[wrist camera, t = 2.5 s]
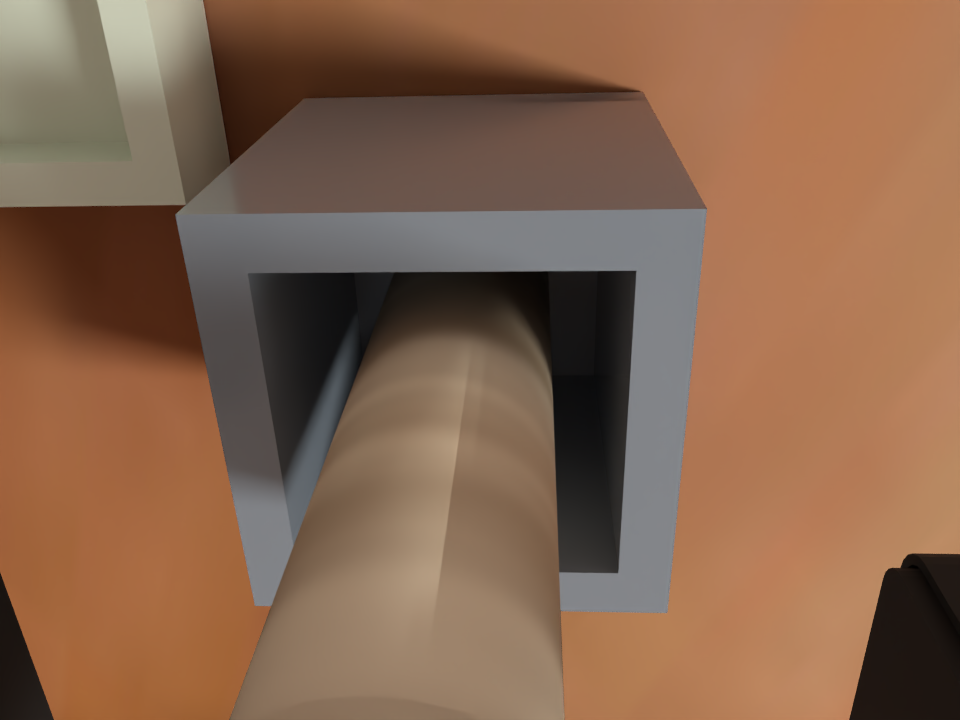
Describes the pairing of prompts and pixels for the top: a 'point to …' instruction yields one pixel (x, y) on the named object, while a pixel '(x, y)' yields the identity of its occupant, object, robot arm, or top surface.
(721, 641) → the top surface
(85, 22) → the tray
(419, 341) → the dowel
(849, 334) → the top surface
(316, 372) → the holder
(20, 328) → the top surface
